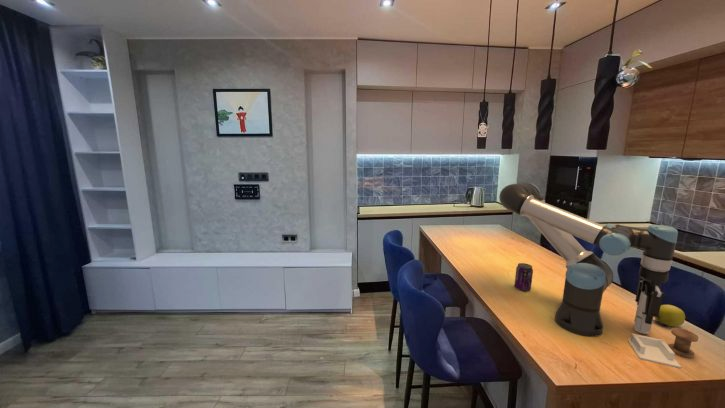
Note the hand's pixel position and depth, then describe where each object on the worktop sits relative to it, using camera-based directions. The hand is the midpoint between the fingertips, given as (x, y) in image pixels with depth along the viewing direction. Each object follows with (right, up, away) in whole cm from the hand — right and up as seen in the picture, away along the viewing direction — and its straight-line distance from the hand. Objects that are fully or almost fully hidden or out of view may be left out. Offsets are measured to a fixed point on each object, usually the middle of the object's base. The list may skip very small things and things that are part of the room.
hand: (642, 326), depth 110 cm
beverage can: (-26, +4, +34) cm, 43 cm away
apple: (+14, -1, +5) cm, 15 cm away
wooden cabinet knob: (+3, -4, -11) cm, 12 cm away
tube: (0, -2, 0) cm, 2 cm away
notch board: (-8, -4, -11) cm, 14 cm away
